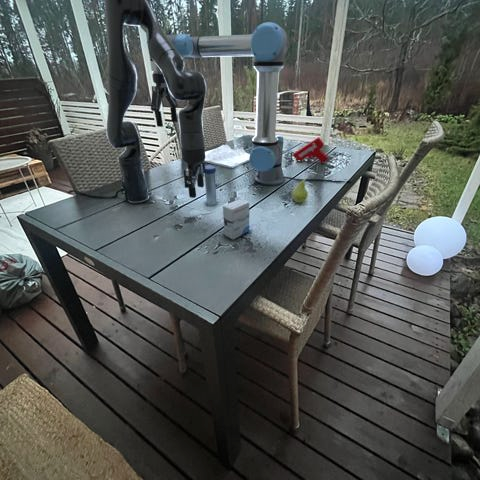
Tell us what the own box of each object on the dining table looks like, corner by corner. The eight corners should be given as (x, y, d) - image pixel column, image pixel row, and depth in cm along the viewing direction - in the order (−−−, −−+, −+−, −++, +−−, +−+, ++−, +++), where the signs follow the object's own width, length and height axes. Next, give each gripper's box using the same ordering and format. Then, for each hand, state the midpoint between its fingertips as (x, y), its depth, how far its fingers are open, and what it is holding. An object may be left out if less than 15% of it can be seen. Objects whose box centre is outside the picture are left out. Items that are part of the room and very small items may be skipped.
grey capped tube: (212, 206, 119) (210, 170, 110) (204, 204, 121) (201, 168, 112) (218, 202, 122) (216, 167, 113) (210, 200, 124) (208, 166, 115)
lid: (210, 174, 110) (210, 170, 109) (200, 172, 113) (200, 168, 112) (218, 171, 114) (217, 166, 113) (208, 169, 116) (207, 164, 115)
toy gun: (331, 157, 168) (319, 136, 164) (331, 159, 164) (318, 137, 160) (306, 172, 178) (294, 153, 174) (305, 174, 174) (292, 154, 170)
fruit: (288, 200, 123) (290, 174, 116) (302, 197, 125) (305, 172, 119) (296, 206, 118) (299, 179, 111) (310, 203, 120) (314, 177, 114)
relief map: (232, 168, 162) (231, 159, 159) (190, 158, 179) (189, 150, 177) (257, 157, 180) (257, 149, 177) (217, 149, 198) (217, 142, 195)
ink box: (240, 226, 103) (240, 197, 97) (249, 231, 100) (250, 202, 94) (223, 234, 98) (222, 205, 92) (232, 240, 95) (232, 209, 89)
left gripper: (189, 138, 92) (193, 182, 102) (172, 151, 81) (179, 199, 90) (210, 139, 91) (212, 184, 101) (196, 152, 80) (200, 202, 89)
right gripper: (167, 72, 132) (173, 119, 143) (136, 73, 112) (146, 128, 123) (181, 72, 130) (186, 120, 141) (151, 73, 110) (160, 129, 121)
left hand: (196, 191), depth 95 cm, fingers open, 8 cm apart
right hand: (167, 124), depth 132 cm, fingers open, 13 cm apart
